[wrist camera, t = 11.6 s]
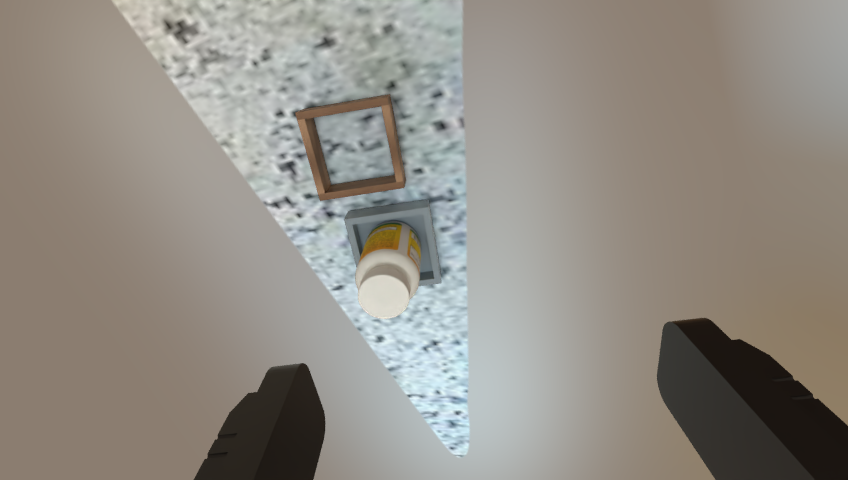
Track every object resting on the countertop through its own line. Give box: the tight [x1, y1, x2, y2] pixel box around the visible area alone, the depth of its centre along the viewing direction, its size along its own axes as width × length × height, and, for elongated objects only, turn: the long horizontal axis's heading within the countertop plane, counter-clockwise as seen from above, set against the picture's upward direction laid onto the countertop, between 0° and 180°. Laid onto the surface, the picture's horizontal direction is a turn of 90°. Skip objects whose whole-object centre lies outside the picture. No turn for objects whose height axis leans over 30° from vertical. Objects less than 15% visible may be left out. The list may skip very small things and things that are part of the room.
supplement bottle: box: [355, 221, 421, 319], centre depth 35 cm, size 5×5×10 cm
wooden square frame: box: [296, 94, 406, 201], centre depth 35 cm, size 8×8×2 cm
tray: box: [344, 199, 441, 286], centre depth 39 cm, size 8×8×2 cm
